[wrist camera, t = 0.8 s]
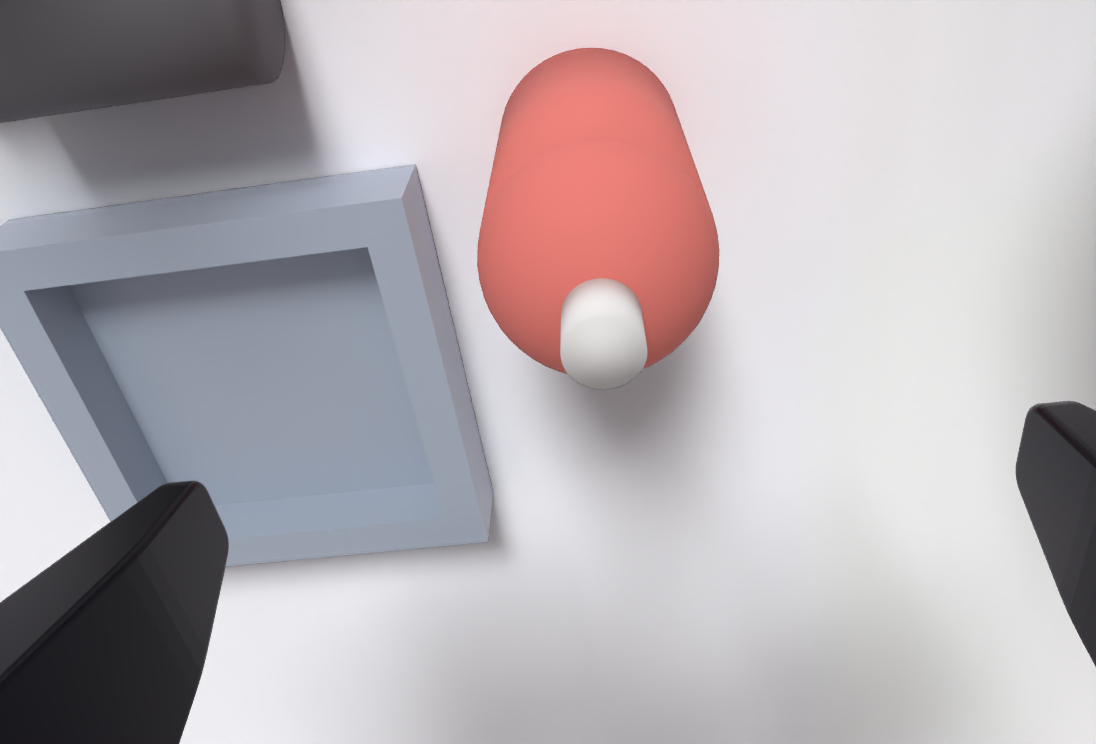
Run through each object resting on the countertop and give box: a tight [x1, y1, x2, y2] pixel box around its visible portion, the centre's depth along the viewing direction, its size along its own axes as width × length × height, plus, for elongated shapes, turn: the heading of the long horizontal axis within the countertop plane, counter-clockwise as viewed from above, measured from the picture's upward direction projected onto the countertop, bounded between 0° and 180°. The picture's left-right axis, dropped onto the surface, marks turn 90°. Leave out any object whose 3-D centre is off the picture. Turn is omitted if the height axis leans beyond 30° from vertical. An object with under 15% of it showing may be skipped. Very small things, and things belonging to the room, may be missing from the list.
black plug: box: [0, 0, 285, 123], centre depth 17 cm, size 7×4×4 cm, turn 98°
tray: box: [0, 165, 493, 566], centre depth 22 cm, size 10×10×2 cm
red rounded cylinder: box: [477, 48, 719, 389], centre depth 16 cm, size 4×4×9 cm
